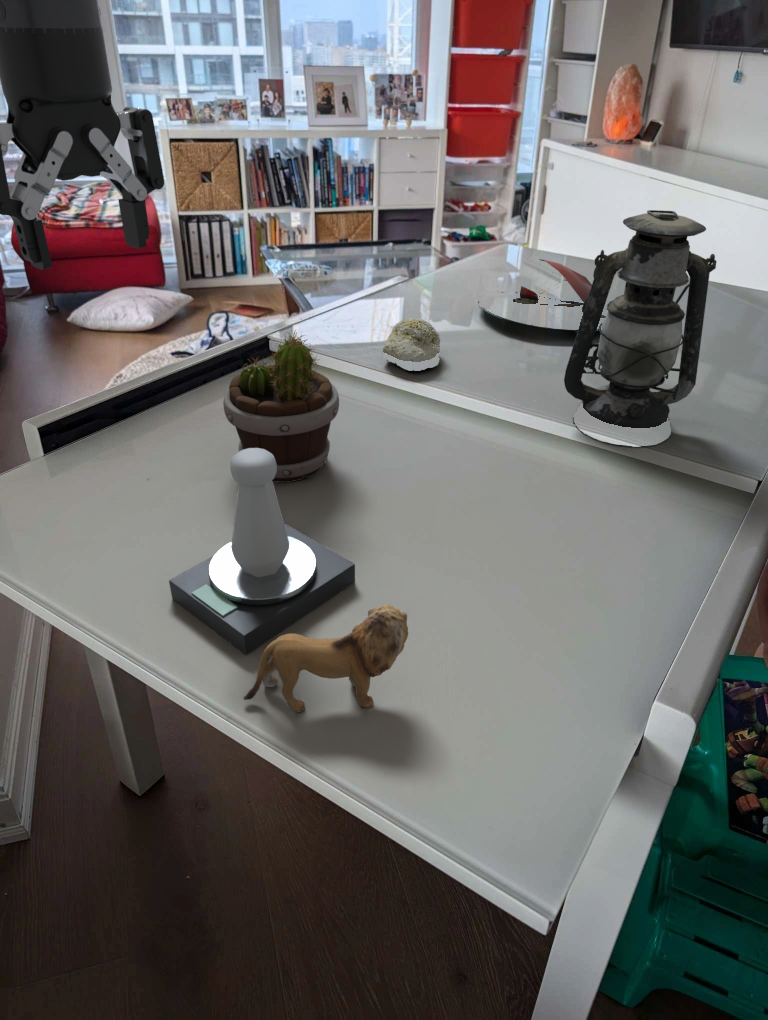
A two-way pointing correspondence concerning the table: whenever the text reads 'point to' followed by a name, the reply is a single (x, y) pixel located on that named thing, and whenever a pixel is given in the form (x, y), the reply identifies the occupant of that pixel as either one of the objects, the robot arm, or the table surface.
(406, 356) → the decorative item
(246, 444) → the flowerpot
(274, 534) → the salt shaker
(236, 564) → the scale pan
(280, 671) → the lion figurine
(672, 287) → the lantern
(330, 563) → the scale
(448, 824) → the table surface
